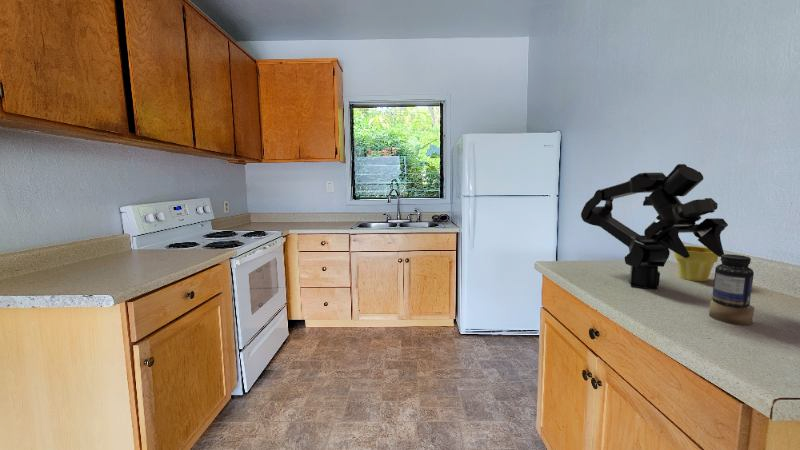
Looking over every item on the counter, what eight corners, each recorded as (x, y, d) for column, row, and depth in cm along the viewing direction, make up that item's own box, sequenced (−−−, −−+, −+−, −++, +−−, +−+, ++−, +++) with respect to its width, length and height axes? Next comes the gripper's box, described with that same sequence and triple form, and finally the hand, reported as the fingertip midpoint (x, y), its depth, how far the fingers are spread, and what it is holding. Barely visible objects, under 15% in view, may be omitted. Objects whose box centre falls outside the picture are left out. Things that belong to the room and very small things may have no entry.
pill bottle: (727, 298, 79) (733, 253, 77) (757, 308, 73) (764, 259, 71) (704, 299, 78) (709, 253, 77) (732, 309, 72) (738, 259, 71)
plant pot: (683, 282, 102) (687, 251, 101) (665, 273, 112) (668, 245, 111) (723, 284, 100) (727, 252, 99) (701, 274, 110) (704, 246, 109)
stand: (714, 321, 74) (716, 306, 74) (705, 310, 80) (706, 296, 80) (758, 327, 71) (760, 312, 70) (744, 316, 77) (746, 301, 77)
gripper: (657, 187, 83) (695, 239, 74) (724, 187, 85) (770, 236, 75) (630, 215, 92) (661, 264, 83) (691, 214, 94) (728, 261, 84)
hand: (705, 256), depth 81 cm, fingers open, 9 cm apart
